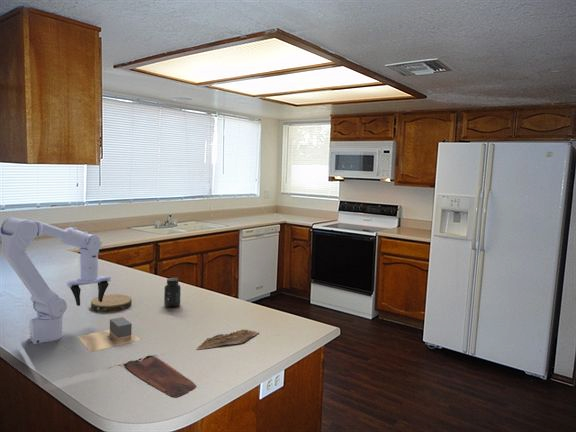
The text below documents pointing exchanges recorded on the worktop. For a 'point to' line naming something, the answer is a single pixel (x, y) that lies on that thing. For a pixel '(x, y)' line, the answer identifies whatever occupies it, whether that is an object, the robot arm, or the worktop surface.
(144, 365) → the wooden tablet
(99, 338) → the oak board
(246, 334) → the wooden fragment
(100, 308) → the wood log slice
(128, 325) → the block
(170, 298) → the supplement bottle
